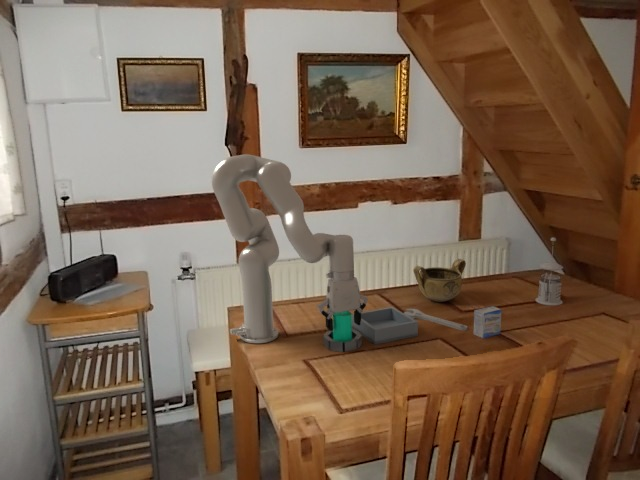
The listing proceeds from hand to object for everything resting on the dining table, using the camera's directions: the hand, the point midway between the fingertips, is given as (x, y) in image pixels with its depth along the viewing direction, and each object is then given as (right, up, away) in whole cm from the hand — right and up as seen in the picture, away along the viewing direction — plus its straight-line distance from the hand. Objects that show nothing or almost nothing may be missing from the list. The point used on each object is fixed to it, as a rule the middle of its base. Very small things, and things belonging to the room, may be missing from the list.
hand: (343, 326), depth 178 cm
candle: (0, -6, +2) cm, 6 cm away
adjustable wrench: (+32, -2, +19) cm, 37 cm away
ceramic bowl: (+39, +4, +42) cm, 57 cm away
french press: (+80, +4, +37) cm, 88 cm away
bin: (+14, -3, +11) cm, 18 cm away
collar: (0, -6, +1) cm, 6 cm away
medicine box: (+47, -4, +7) cm, 48 cm away
